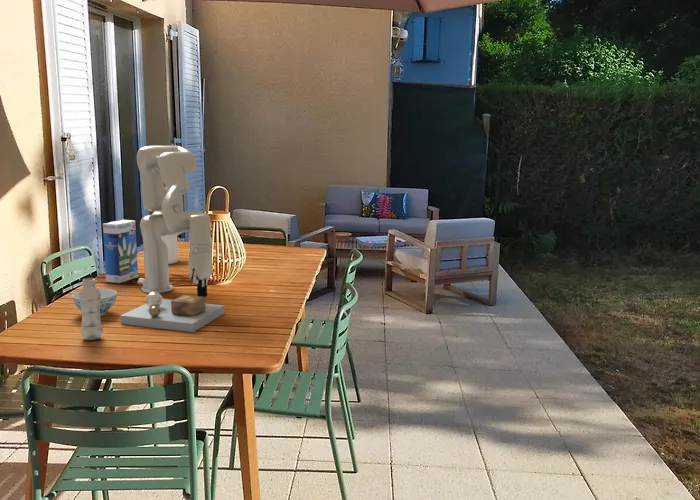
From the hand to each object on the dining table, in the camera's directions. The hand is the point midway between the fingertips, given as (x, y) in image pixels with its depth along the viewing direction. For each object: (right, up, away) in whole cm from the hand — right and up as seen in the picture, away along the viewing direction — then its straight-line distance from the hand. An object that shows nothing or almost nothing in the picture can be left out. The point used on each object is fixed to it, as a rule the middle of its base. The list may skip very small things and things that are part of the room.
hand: (202, 296), depth 237 cm
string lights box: (-46, +4, +47) cm, 66 cm away
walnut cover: (-3, -5, -8) cm, 10 cm away
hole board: (-9, -7, -6) cm, 13 cm away
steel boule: (-16, -1, -5) cm, 17 cm away
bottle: (-38, +11, +83) cm, 92 cm away
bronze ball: (-13, -4, -15) cm, 20 cm away
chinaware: (-38, -6, -3) cm, 39 cm away
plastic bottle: (-29, -12, -29) cm, 42 cm away
